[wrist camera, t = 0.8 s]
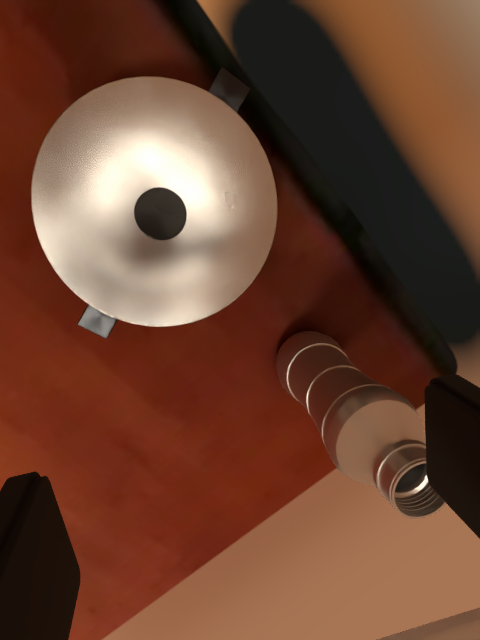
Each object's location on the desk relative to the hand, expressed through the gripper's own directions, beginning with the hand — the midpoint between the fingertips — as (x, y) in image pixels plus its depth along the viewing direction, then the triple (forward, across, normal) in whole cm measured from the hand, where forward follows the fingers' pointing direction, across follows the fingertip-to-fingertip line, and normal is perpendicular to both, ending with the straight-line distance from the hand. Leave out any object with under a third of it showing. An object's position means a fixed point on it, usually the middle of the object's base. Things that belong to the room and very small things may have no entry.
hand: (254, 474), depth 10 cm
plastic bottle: (+28, -10, +10) cm, 32 cm away
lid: (+23, +1, -6) cm, 24 cm away
